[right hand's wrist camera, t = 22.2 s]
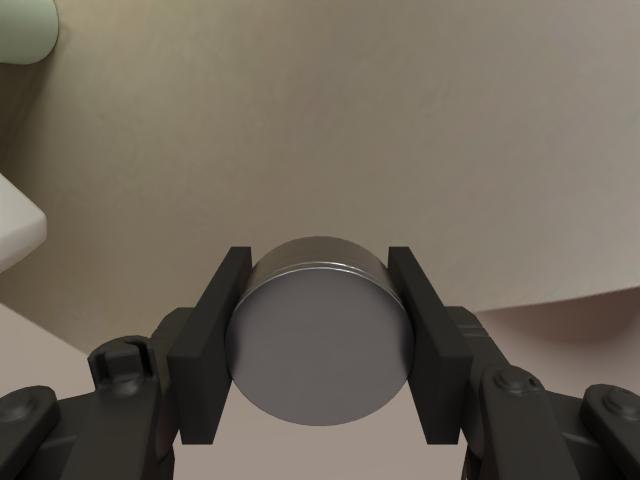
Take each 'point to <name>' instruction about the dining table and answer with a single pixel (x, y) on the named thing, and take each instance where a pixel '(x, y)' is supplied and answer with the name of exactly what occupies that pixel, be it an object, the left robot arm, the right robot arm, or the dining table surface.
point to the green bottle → (27, 30)
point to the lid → (319, 333)
